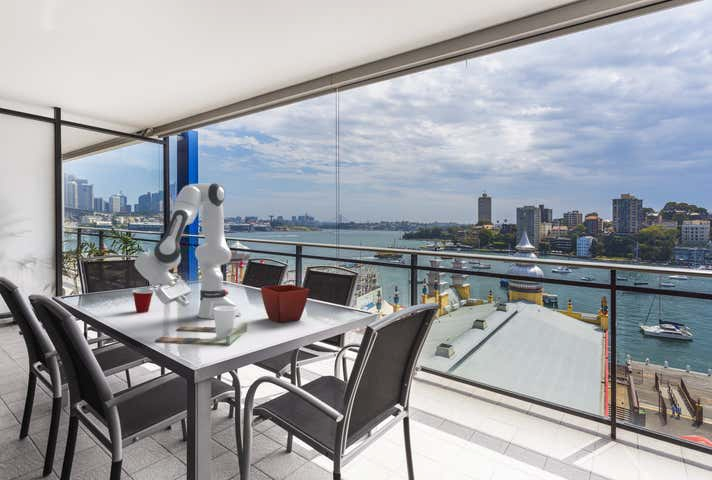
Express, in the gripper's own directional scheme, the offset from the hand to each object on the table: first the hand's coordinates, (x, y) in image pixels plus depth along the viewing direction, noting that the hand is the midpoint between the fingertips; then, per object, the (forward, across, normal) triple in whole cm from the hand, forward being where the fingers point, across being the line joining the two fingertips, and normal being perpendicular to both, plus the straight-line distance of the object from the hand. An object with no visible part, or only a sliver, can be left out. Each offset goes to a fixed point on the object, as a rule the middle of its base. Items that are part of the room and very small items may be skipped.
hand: (186, 305), depth 166 cm
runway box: (+15, -1, +4) cm, 15 cm away
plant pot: (+36, +35, -14) cm, 52 cm away
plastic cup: (-21, +39, +41) cm, 60 cm away
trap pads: (+13, -1, +5) cm, 14 cm away
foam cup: (+22, -2, -2) cm, 22 cm away
